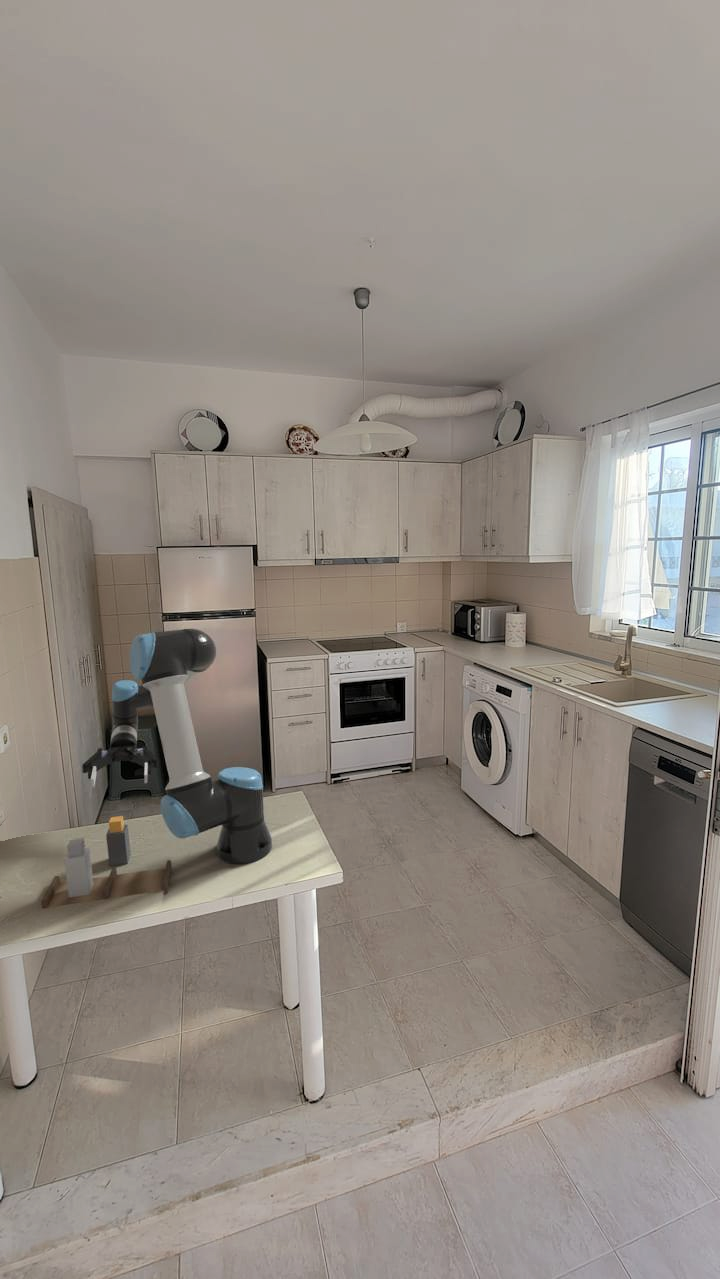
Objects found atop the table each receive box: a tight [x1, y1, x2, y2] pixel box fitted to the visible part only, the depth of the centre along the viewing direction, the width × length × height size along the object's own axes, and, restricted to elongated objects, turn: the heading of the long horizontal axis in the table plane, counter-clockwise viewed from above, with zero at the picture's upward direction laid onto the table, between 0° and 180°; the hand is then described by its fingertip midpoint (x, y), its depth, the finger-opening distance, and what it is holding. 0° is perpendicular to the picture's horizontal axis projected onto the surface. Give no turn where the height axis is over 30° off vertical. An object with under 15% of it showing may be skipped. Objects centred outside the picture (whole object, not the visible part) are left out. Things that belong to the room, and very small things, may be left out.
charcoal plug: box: [105, 815, 131, 867], centre depth 148 cm, size 4×4×13 cm
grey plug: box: [63, 837, 94, 898], centre depth 135 cm, size 4×4×13 cm
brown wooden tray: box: [41, 859, 173, 909], centre depth 137 cm, size 28×10×3 cm, turn 103°
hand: (119, 781), depth 153 cm, fingers open, 13 cm apart
